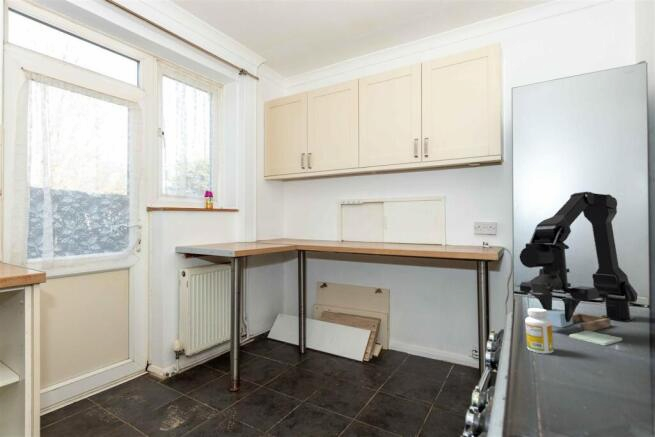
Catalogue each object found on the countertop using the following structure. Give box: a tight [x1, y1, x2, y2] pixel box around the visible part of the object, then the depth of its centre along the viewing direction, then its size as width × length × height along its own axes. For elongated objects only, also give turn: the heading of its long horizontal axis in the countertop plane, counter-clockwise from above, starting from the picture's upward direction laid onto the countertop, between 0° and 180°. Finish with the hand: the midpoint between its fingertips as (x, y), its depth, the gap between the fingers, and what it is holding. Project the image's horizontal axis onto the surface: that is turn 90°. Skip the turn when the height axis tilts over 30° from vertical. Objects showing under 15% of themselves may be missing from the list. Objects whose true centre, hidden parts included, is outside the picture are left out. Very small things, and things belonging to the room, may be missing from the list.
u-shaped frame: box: [555, 312, 612, 332], centre depth 96 cm, size 13×8×2 cm, turn 114°
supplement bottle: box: [524, 307, 555, 355], centre depth 78 cm, size 5×5×10 cm
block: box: [546, 308, 574, 328], centre depth 92 cm, size 6×4×4 cm
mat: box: [568, 331, 623, 346], centre depth 85 cm, size 8×8×1 cm
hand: (558, 320), depth 92 cm, fingers closed on block, 5 cm apart
